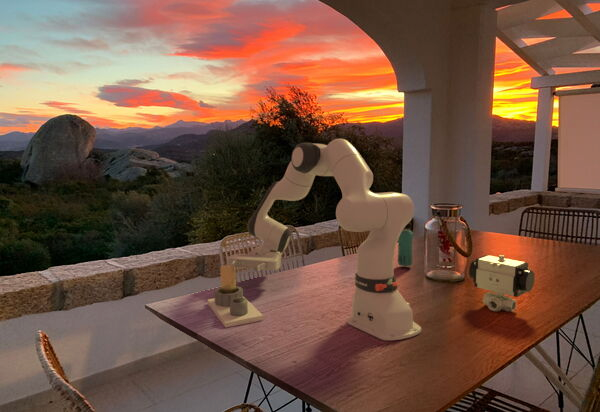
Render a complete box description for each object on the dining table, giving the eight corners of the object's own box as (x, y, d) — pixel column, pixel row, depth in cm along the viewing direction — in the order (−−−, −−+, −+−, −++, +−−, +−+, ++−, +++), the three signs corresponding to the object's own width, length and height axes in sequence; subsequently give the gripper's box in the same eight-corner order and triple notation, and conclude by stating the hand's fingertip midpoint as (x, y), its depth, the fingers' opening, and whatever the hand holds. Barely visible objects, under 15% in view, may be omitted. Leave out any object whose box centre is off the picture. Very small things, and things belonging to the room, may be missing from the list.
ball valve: (465, 304, 141) (467, 253, 139) (477, 298, 146) (480, 248, 144) (521, 321, 127) (524, 263, 125) (532, 313, 133) (536, 258, 130)
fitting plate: (263, 320, 130) (262, 302, 130) (225, 327, 125) (224, 309, 125) (241, 297, 150) (240, 282, 149) (207, 303, 145) (206, 287, 144)
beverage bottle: (412, 265, 188) (413, 221, 185) (412, 270, 181) (413, 224, 179) (397, 265, 189) (398, 221, 187) (397, 269, 183) (397, 223, 180)
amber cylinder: (238, 302, 141) (237, 267, 140) (224, 305, 139) (222, 269, 138) (234, 298, 146) (232, 264, 144) (219, 300, 144) (218, 266, 142)
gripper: (236, 248, 169) (218, 256, 156) (284, 252, 162) (269, 261, 149) (236, 263, 169) (219, 273, 156) (284, 267, 163) (270, 278, 150)
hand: (244, 267), depth 153 cm, fingers open, 8 cm apart
